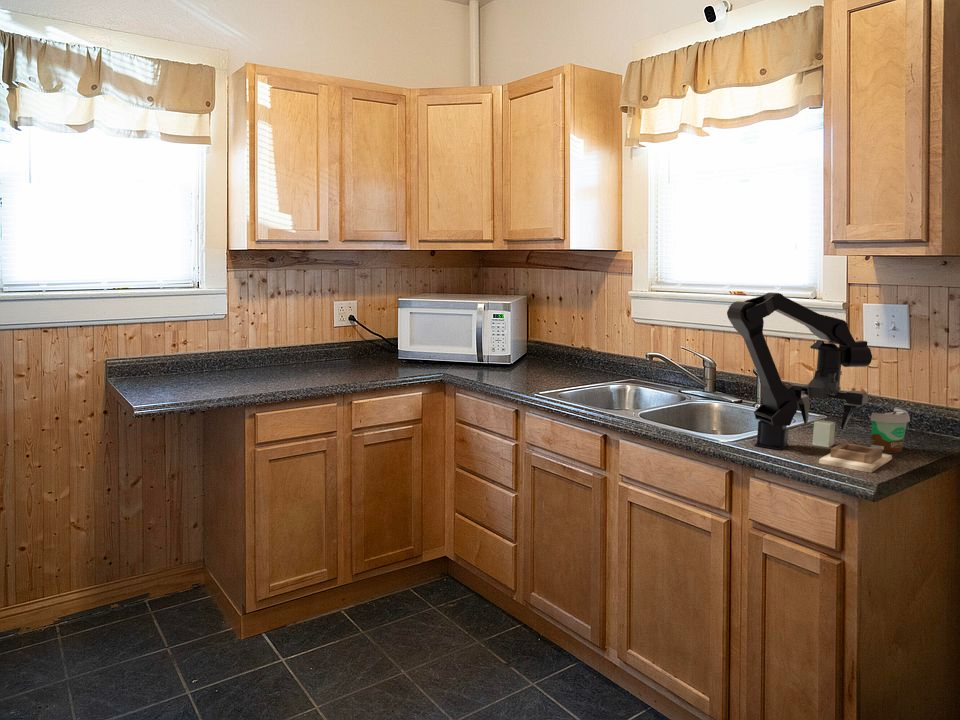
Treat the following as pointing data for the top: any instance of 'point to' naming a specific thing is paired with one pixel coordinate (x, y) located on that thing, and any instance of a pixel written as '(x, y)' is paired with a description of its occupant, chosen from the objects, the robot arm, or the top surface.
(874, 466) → the post base
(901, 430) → the food container
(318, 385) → the top surface
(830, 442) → the pale green block
